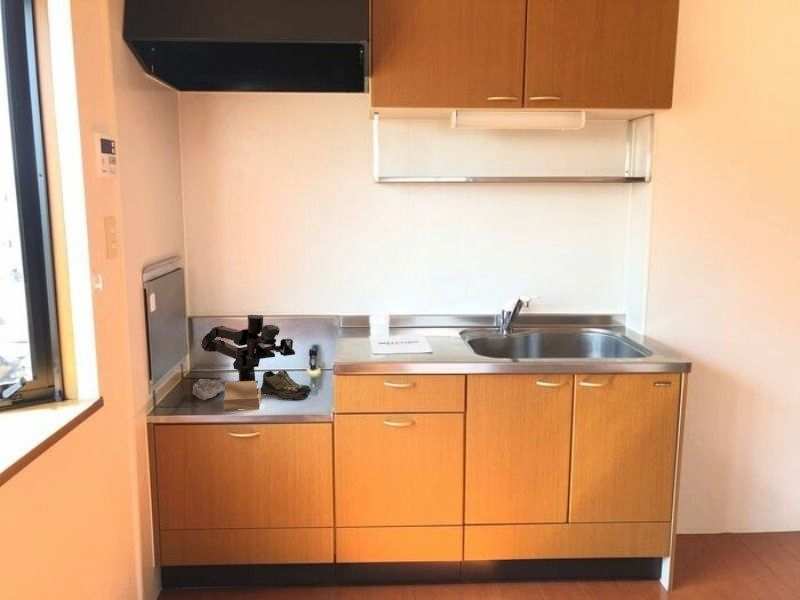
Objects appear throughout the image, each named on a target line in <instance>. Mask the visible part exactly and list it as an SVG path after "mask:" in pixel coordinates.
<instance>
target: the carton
mask: <svg viewBox="0 0 800 600" xmlns="http://www.w3.org/2000/svg"><path fill="white" fill-rule="evenodd" d="M260 401H261V402H262V393H261V387H257V398H250V399H230V400H225V396H224V398H223V411H224V410H235V411H239V410H238V409H254V410H260V408H259V407H260V406H261V402H260Z"/></svg>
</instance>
